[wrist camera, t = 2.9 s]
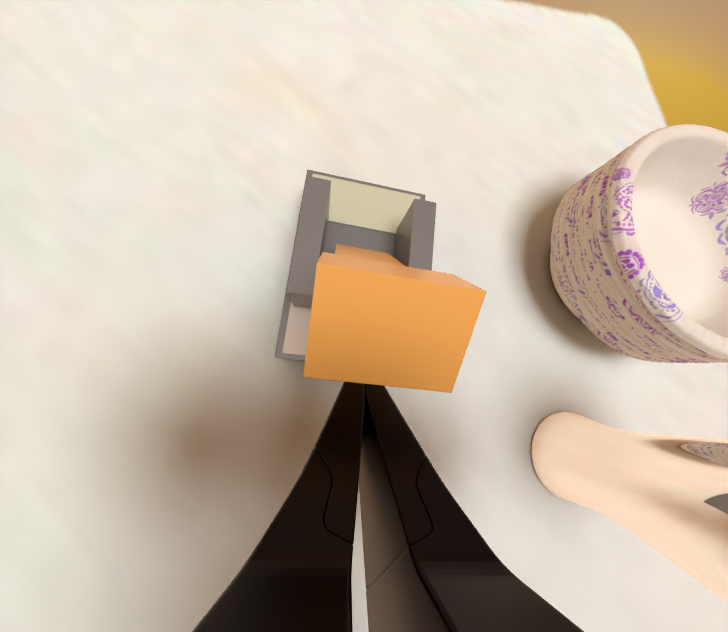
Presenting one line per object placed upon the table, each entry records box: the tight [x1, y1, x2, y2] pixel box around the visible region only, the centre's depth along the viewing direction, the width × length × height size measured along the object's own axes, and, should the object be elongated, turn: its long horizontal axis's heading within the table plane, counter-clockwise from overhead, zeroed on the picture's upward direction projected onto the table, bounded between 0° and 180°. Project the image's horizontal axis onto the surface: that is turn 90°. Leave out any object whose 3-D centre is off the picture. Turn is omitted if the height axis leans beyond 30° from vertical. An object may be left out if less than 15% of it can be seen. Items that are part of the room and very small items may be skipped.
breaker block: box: [275, 170, 436, 361], centre depth 16 cm, size 12×8×6 cm, turn 172°
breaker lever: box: [303, 244, 486, 393], centre depth 11 cm, size 3×4×11 cm
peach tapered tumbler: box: [531, 412, 728, 602], centre depth 13 cm, size 7×7×15 cm
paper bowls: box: [550, 124, 728, 363], centre depth 19 cm, size 15×15×8 cm
